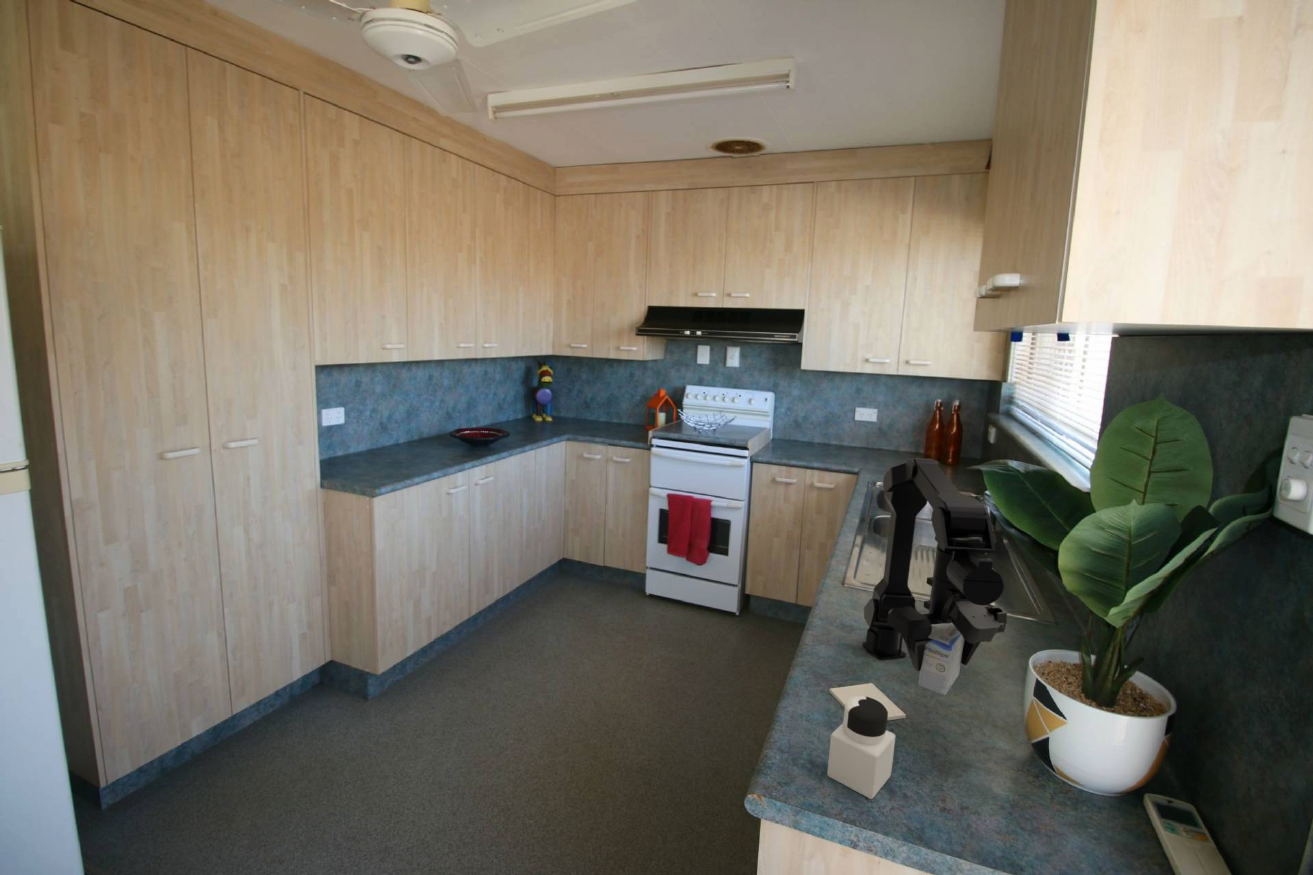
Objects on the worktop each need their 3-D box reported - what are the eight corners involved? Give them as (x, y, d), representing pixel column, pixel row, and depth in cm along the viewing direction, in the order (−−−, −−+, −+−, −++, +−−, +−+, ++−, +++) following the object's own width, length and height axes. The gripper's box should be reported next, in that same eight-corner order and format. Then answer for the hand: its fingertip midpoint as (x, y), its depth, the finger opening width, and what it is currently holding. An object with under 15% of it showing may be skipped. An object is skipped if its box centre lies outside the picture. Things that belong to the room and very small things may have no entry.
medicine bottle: (891, 776, 96) (900, 704, 94) (871, 801, 90) (880, 725, 88) (847, 753, 100) (854, 684, 98) (826, 776, 95) (833, 704, 93)
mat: (871, 686, 120) (871, 683, 120) (905, 717, 110) (905, 714, 110) (829, 691, 117) (829, 688, 117) (860, 724, 108) (860, 721, 108)
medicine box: (931, 666, 109) (938, 619, 107) (959, 676, 106) (966, 628, 104) (917, 685, 103) (923, 636, 101) (946, 696, 100) (953, 646, 98)
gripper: (938, 604, 91) (925, 702, 94) (1041, 594, 96) (1026, 687, 99) (890, 574, 101) (880, 663, 104) (985, 566, 106) (973, 651, 109)
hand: (940, 667), depth 104 cm, fingers closed on medicine box, 9 cm apart
